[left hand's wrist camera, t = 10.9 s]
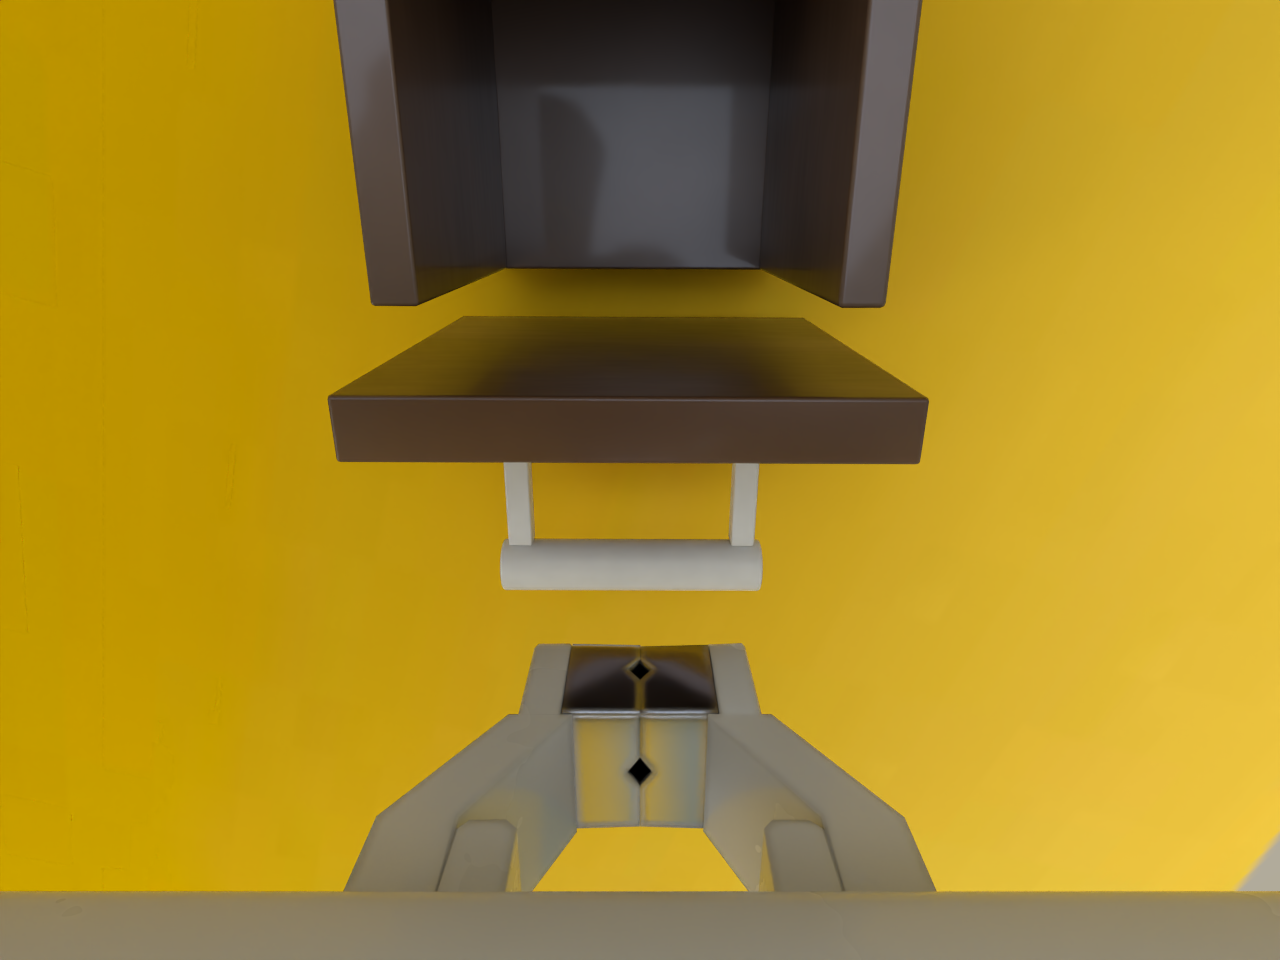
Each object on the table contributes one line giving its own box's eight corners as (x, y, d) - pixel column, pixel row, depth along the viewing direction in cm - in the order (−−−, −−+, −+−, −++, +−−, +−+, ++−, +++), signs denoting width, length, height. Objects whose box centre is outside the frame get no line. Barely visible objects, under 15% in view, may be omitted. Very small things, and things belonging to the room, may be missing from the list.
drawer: (788, 517, 24) (883, 714, 14) (477, 516, 24) (373, 713, 14) (872, -493, 15) (1226, -1567, 6) (395, -497, 15) (23, -1577, 6)
